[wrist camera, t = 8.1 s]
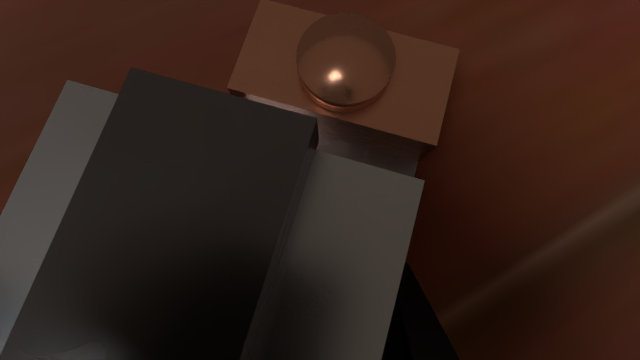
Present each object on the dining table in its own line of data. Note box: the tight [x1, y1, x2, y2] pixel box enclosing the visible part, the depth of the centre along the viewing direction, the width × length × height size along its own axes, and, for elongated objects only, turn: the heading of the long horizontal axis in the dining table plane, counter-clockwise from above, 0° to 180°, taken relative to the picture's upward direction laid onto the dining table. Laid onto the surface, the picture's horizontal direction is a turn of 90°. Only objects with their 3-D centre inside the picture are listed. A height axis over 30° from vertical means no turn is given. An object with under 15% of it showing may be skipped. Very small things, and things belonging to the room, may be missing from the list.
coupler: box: [227, 0, 460, 177], centre depth 15 cm, size 19×10×5 cm, turn 163°
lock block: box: [0, 68, 425, 360], centre depth 10 cm, size 6×6×13 cm
